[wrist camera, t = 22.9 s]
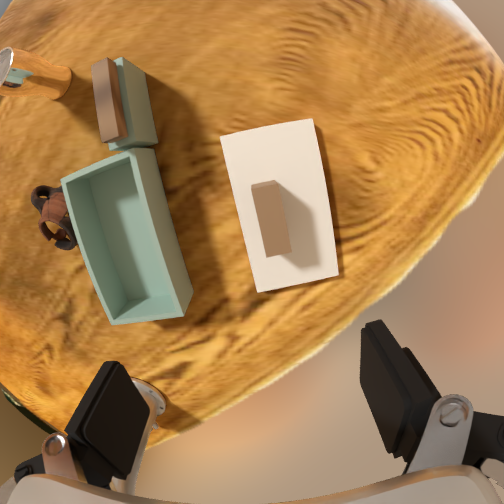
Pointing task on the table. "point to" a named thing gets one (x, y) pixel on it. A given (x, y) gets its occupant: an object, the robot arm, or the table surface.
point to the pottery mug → (54, 215)
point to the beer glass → (31, 75)
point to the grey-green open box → (129, 219)
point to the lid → (282, 203)
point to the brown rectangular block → (108, 101)
